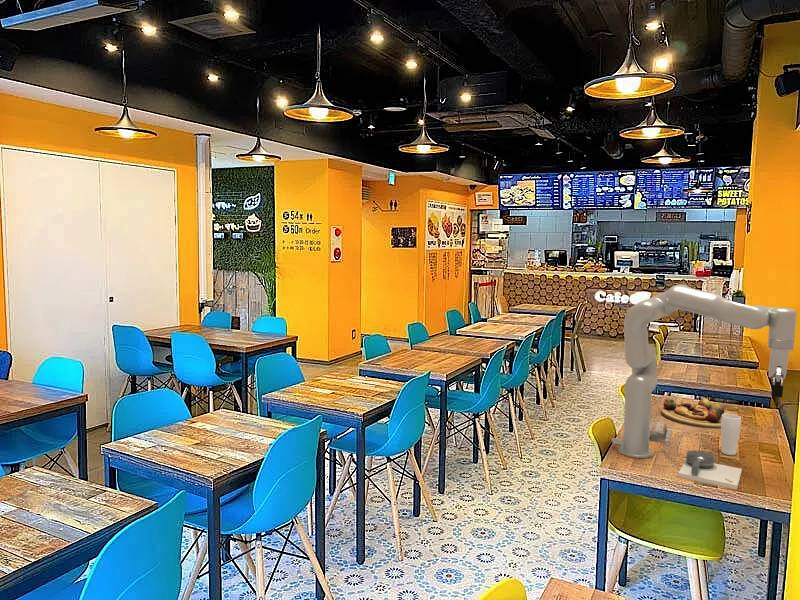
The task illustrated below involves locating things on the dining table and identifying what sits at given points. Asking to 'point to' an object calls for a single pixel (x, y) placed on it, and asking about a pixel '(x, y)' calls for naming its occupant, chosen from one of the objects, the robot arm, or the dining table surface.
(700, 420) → the wooden plate with food
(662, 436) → the packaged product
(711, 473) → the dial base
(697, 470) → the dial
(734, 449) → the drinking glass
